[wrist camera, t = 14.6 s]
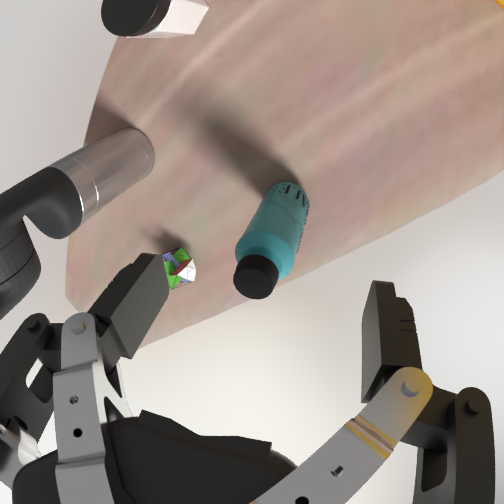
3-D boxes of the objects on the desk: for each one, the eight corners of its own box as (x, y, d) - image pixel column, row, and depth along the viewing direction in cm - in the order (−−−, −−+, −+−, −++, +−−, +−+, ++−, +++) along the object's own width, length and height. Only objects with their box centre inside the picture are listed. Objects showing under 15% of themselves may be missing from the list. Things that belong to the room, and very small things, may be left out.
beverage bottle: (265, 213, 47) (219, 304, 31) (268, 172, 43) (217, 250, 27) (308, 220, 45) (282, 318, 30) (314, 179, 41) (291, 265, 26)
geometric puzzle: (172, 286, 59) (174, 302, 51) (150, 260, 56) (147, 272, 49) (201, 263, 59) (206, 277, 52) (179, 236, 57) (181, 245, 49)
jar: (145, 8, 32) (89, 3, 22) (188, -25, 28) (138, -43, 19) (171, 50, 35) (118, 53, 26) (218, 18, 32) (173, 7, 22)
